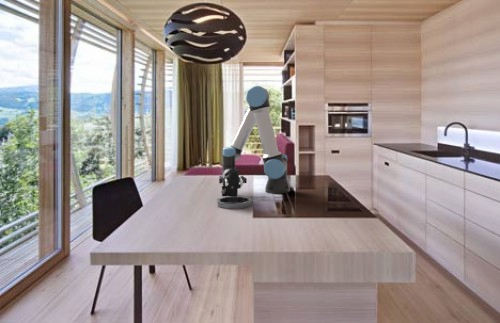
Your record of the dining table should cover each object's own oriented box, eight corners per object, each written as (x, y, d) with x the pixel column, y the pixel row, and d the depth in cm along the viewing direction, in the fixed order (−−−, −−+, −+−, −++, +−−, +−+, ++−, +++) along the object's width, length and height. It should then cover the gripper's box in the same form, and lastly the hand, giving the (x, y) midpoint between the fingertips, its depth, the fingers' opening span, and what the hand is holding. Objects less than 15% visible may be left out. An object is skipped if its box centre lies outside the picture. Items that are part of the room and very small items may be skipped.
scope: (224, 168, 212) (242, 169, 211) (224, 193, 214) (242, 194, 213) (220, 170, 204) (239, 171, 203) (220, 197, 206) (239, 197, 205)
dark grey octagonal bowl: (248, 200, 220) (248, 195, 220) (253, 207, 203) (253, 203, 202) (216, 201, 218) (216, 197, 218) (218, 209, 200) (218, 204, 200)
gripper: (248, 182, 228) (253, 190, 206) (212, 183, 226) (214, 190, 203) (248, 169, 227) (253, 175, 205) (212, 170, 225) (214, 176, 202)
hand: (234, 183), depth 204 cm, fingers closed on scope, 7 cm apart
